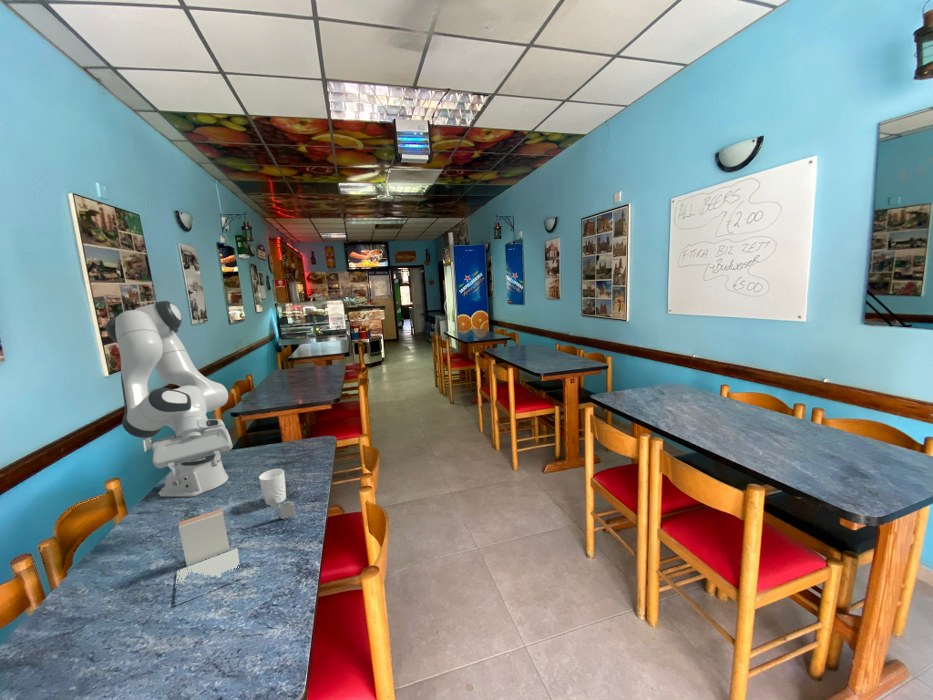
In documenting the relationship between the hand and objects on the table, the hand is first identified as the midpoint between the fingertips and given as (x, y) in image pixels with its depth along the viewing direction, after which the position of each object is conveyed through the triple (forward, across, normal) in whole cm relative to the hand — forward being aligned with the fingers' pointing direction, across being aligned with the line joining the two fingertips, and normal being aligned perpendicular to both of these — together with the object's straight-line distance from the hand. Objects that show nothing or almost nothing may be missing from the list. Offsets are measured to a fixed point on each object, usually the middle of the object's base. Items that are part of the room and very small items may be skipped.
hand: (196, 470), depth 116 cm
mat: (+31, +1, -1) cm, 31 cm away
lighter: (+20, +20, +11) cm, 30 cm away
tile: (+24, 0, +5) cm, 25 cm away
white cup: (+9, +19, +21) cm, 29 cm away
